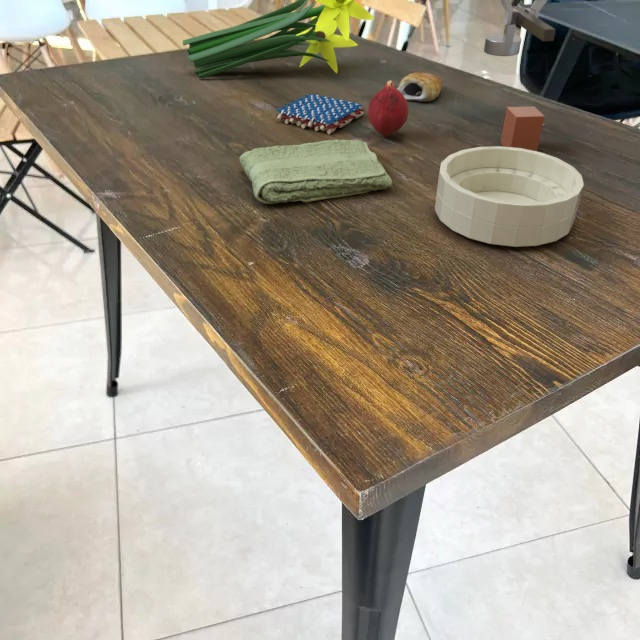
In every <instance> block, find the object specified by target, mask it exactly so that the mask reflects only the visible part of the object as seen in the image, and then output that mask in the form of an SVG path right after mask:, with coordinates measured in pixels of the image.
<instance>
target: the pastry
mask: <svg viewBox="0 0 640 640" xmlns="http://www.w3.org/2000/svg"><path fill="white" fill-rule="evenodd" d="M442 86H443V81H442V79H441V77H440V76H437V75H434V74H431V73H430V72H419V71H417V72H416V71H415V72H413V73H408V74H407V75H405V76H403V78H401V80H400V82H399V85H398V87H397V88H396V89H397V90H399V91H400V92H401V93H402V94H403V96H404V97H405V99H406V101H407V102H408V101H409V102H410V101H417V102H421V103H423V102H427V103H429V102H432V101H434V100H435V99H436V98H438V97H439V96H440V93H441V91H442Z"/></svg>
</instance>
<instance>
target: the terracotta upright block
mask: <svg viewBox="0 0 640 640" xmlns="http://www.w3.org/2000/svg"><path fill="white" fill-rule="evenodd" d="M503 122H504V123H503V127H502V132H501V138H500V145H501V147H513V148H522V149H527V150H532V151H537V152H538V149H539V146H540V145H539V144H540V140H541V136H542V131H543V127H544V123H545V115H544V114H543V113H542V112H541V111H540V110H539V109H538V108H537V107H536V106H506V110H505V116H504V121H503Z"/></svg>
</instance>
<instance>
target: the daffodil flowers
mask: <svg viewBox="0 0 640 640" xmlns="http://www.w3.org/2000/svg"><path fill="white" fill-rule="evenodd" d="M308 1H309V0H296V1H294V2H291V3H289V4H287V5H284V6H282V7H280V8H278V9H275V10H273V11H271V12H268V13H265V14H263V15H261V16H260V15H259V16H258V17H256V18H252V19H250V20H247V21H245V22H243V23H240V24H236V25H235V26H230V27H227V28H223V29H219V30H215V31H212V32H211V31H210V32H207V33H205V34H201V35H197V36H194V37H190V38H187V39H183V40H182V45H183V46H187V45H188V49H187V50H186V51H187V53H188V55H187V60H189V61H190V63H192V62H193V66H194V67H195V69H196V68H197V69H196V70H194V73H195V75H196V76H198V78H199V79H200V78H202V79H205V78H207V77H211V76H214V75H216V74H220V73H223V72H226V71H229V70H231V69H235V68H237V67H240V66H243V65H245V64H249V63H256V62H261V61H268V60H275V59H282V58H292V57H302V59H301V61H300V63H299V66H298V67H299V68H301V67H303V66H304V65H306V64H307V63H308V62H309V61H311V60H312V59H313V58H316V59H320V60H322V61H325V62H326V64H327V65H328V66H329V67H330V68H331V70H332V71H333V72H334V73H336V74H338V71H339V69H338V62H337V55H336V53H335V49H334V48H352V47H357V46H359V44H358V43H357V42H355V40H353V39H351V38H350V31H351V30H350V28H351V27H350V24H351V23H350V17H352V18H353V19H354V18H355V19H357V20H362V21H372V20H375V17H374V16H373V14H371V13H370V12H369V11H368V10H367V9H366V8H365V7H363V6H362V5H361V4H359V3H358V2H357V1H356V0H314V1H315V2H314V3H312V4H310V5H308V6H307V7H305V6H306V4H307V3H308ZM316 3H318V4H321V5H319V6H316V7H314V6H315V4H316ZM308 19H310V20H309V21H306V22H302V21H304V20H308ZM337 28H338V30H339V32H340V34H336V33H335V32H336V30H337ZM268 35H270V36H268ZM265 36H268V37H266V38H264V39H261V38H263V37H265ZM258 39H261V40H258ZM255 40H257V41H255ZM306 42H307V43H306ZM308 43H310V44H308ZM294 46H308V47H307V49H306V51H299V50H297V49H296V50H295V49H290V48H292V47H294ZM319 53H320V55H321V56H320V55H318V54H319Z"/></svg>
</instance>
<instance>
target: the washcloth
mask: <svg viewBox="0 0 640 640" xmlns="http://www.w3.org/2000/svg"><path fill="white" fill-rule="evenodd" d="M238 160H239V164H240V165H241V167H242V169H243V171H244V173H245V175H246V177H247V179H248V180H249V181H251V185H252V192H253V195H254V198H255V199H256V200H257V201H259V202H260V203H262V204H267V205H274V204H280V203H283V204H284V203H285V204H286V203H288V202H289V203H291V202H292V203H295V202H300V201H301V202H302V203H310V202H315V201H321V200H326V199H334V198H343V197H349V196H353V195H359V194H366V193H369V192H373V191H374V192H375V191H378V190H379V191H380V190H385V189H387V188H388V187H392V186H393V180H392V178H391V177H390V175H389V174H388V173H387V170H386V169H385V168H384V166H383V164H382V162H381V161H380V160H378V156H377V154H376V153H375V152H372V151H371V150H370V149H369V146H368V143H367V142H366V141H363V140H358V139H338V138H337V139H328V140H322V141H315V142H311V141H310V142H308V143H306V142H305V143H301V144H293V145H292V144H291V145H290V144H289V145H288V144H287V145H273V146H272V145H271V146H266V147H258V148H257V147H256V148H253V149H251V150H248V151H245V152H243V153H242V154H241V155H240V156H239V159H238Z"/></svg>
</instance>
